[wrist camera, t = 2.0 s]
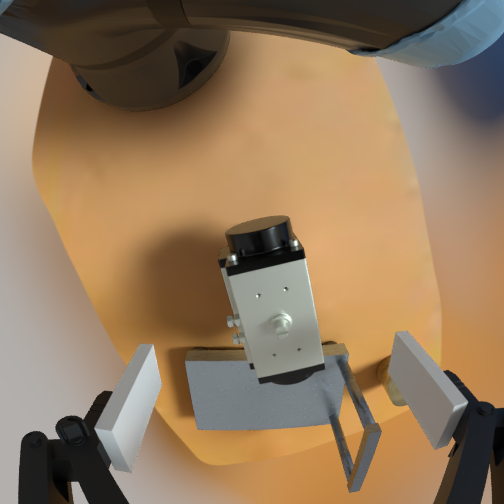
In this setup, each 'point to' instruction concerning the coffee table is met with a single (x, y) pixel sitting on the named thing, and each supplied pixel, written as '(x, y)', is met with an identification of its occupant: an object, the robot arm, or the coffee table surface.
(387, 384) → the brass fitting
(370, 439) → the dolly
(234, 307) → the pneumatic valve
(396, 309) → the coffee table surface
